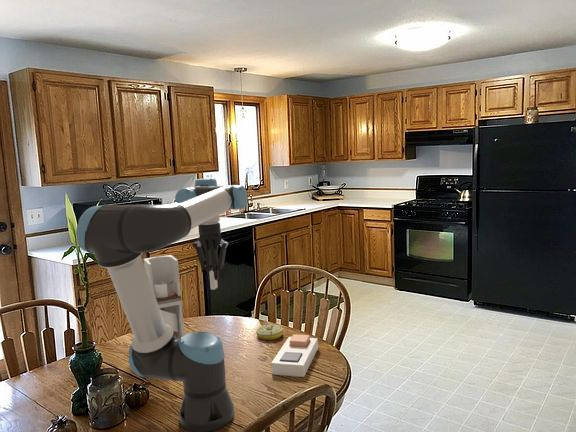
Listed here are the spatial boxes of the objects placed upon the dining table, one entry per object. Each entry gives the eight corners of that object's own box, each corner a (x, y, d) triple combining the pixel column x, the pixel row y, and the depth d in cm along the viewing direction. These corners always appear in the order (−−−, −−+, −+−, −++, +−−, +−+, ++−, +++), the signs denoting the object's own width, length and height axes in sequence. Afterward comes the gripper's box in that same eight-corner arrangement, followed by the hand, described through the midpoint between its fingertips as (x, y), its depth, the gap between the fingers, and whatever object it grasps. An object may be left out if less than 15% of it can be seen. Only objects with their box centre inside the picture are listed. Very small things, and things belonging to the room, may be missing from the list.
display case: (152, 344, 182) (143, 258, 177) (178, 338, 186) (171, 254, 182) (157, 354, 171) (148, 264, 167) (185, 348, 176) (177, 259, 171)
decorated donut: (267, 329, 191) (267, 320, 191) (288, 334, 185) (287, 325, 185) (251, 338, 183) (251, 329, 182) (272, 343, 177) (272, 334, 176)
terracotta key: (306, 349, 162) (305, 341, 162) (289, 348, 164) (289, 340, 163) (309, 342, 168) (309, 335, 167) (294, 341, 169) (293, 334, 169)
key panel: (304, 377, 148) (303, 365, 148) (271, 374, 151) (271, 362, 151) (318, 348, 169) (317, 338, 169) (289, 346, 172) (289, 336, 172)
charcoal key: (297, 369, 151) (297, 360, 150) (280, 367, 152) (280, 359, 152) (302, 361, 157) (301, 352, 156) (285, 359, 158) (285, 351, 158)
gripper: (230, 220, 160) (235, 285, 164) (197, 221, 164) (202, 284, 167) (221, 224, 153) (226, 292, 156) (187, 224, 157) (192, 291, 160)
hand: (214, 288), depth 162 cm, fingers closed
